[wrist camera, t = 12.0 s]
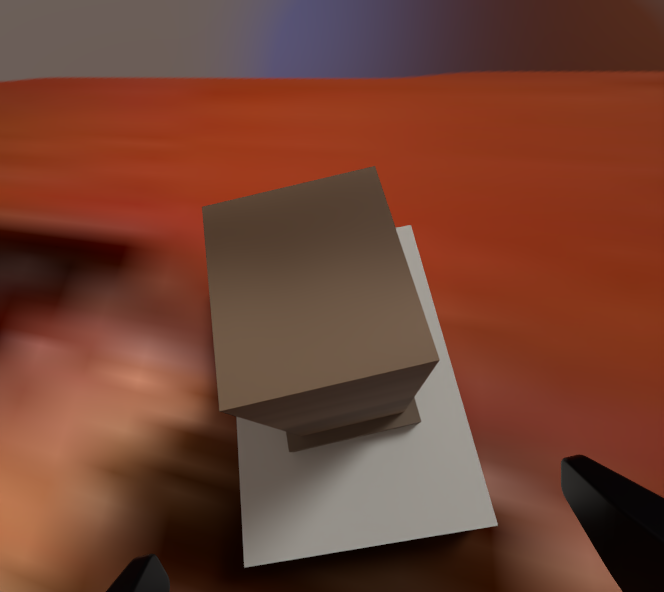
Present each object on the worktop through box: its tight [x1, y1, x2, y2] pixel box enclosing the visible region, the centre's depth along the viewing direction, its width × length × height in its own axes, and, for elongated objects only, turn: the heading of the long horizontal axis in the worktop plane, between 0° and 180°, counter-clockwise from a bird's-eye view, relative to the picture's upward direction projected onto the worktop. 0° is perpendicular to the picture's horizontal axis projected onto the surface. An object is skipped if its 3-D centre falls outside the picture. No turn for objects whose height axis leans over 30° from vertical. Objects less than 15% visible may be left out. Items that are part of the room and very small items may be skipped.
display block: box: [236, 225, 498, 568], centre depth 18 cm, size 14×10×2 cm
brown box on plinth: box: [202, 166, 440, 452], centre depth 13 cm, size 6×6×10 cm
